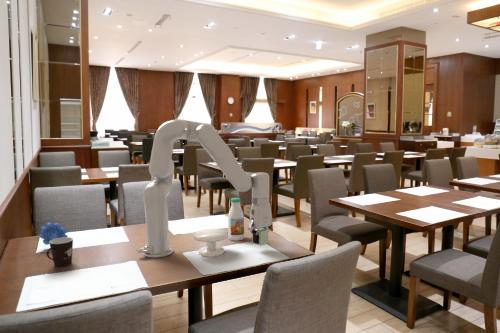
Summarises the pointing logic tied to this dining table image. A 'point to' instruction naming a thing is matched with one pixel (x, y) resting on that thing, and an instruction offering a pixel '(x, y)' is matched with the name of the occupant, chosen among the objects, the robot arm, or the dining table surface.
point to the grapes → (52, 232)
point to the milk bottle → (235, 221)
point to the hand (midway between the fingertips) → (260, 241)
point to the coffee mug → (61, 251)
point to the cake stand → (211, 241)
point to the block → (262, 236)
